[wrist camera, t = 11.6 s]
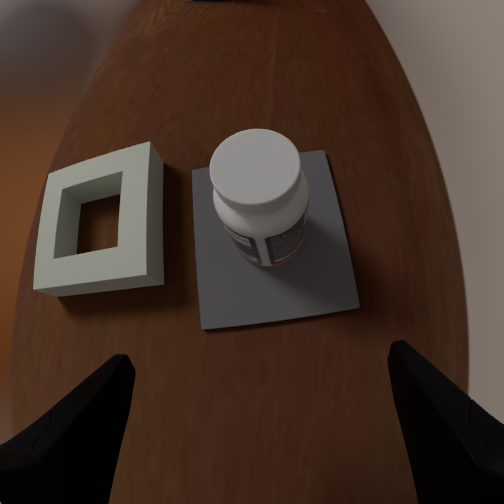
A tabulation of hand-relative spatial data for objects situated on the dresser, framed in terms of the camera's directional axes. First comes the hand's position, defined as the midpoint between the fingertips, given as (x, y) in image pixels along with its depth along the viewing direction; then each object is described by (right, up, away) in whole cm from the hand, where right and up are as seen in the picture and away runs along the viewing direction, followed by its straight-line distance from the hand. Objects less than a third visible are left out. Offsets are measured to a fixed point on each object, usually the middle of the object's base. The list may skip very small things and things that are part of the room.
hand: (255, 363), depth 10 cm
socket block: (-14, +6, +18) cm, 23 cm away
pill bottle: (+1, +5, +15) cm, 16 cm away
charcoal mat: (+1, +5, +16) cm, 16 cm away
